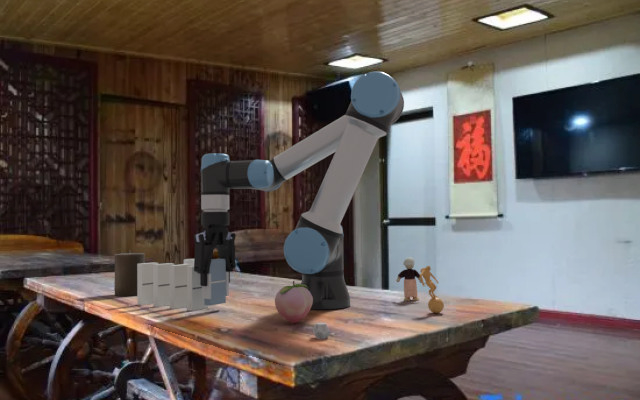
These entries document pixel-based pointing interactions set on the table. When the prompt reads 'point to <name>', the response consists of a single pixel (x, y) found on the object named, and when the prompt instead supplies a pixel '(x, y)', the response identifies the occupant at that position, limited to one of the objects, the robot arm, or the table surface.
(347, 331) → the table surface
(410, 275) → the grandmother figurine
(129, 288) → the pillar candle
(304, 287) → the decorative fruit
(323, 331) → the game die
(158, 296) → the domino
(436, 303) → the figurine
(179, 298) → the domino
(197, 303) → the domino
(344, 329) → the table surface
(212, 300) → the blue domino
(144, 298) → the domino
